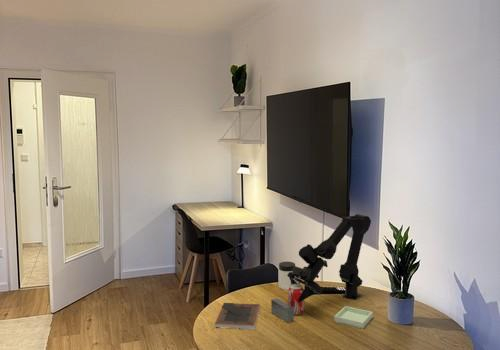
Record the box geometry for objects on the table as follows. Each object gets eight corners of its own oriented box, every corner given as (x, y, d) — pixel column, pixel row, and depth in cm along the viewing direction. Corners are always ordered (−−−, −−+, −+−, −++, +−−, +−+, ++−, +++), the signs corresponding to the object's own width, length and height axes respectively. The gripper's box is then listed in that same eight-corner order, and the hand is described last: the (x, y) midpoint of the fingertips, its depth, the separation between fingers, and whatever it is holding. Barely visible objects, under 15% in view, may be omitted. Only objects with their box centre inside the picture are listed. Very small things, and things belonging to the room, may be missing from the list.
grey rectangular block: (277, 311, 203) (277, 298, 203) (294, 320, 193) (293, 307, 193) (271, 312, 202) (271, 299, 201) (287, 322, 192) (287, 309, 191)
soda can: (299, 317, 197) (299, 290, 195) (285, 313, 200) (285, 287, 199) (307, 311, 203) (306, 285, 201) (292, 307, 206) (292, 282, 205)
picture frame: (224, 307, 210) (214, 329, 188) (223, 302, 209) (214, 323, 188) (260, 309, 207) (254, 331, 186) (259, 303, 207) (254, 325, 186)
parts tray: (345, 311, 202) (345, 306, 201) (372, 317, 195) (372, 312, 195) (334, 322, 192) (334, 316, 191) (362, 328, 185) (362, 323, 185)
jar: (287, 291, 226) (287, 267, 224) (275, 287, 232) (275, 264, 230) (299, 286, 232) (299, 263, 231) (287, 282, 238) (286, 260, 236)
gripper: (290, 254, 208) (270, 282, 204) (317, 264, 193) (296, 296, 188) (303, 267, 213) (285, 295, 209) (331, 279, 198) (311, 309, 193)
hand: (293, 298), depth 200 cm, fingers closed on soda can, 7 cm apart
